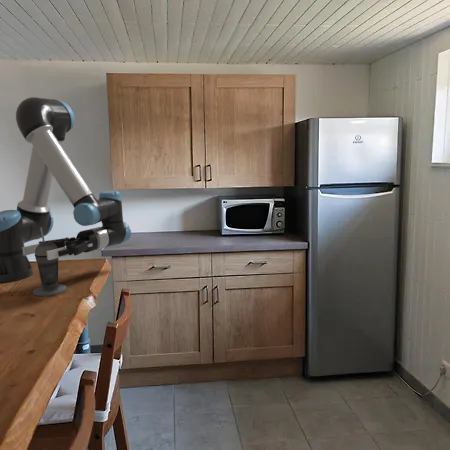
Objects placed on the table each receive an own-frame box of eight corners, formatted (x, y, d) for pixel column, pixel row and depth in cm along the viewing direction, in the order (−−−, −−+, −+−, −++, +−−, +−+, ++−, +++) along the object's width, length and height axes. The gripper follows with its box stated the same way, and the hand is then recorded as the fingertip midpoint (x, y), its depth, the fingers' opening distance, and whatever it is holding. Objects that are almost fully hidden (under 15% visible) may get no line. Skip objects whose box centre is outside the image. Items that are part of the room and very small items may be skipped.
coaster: (26, 293, 144) (26, 291, 144) (54, 284, 152) (54, 282, 152) (45, 298, 138) (44, 296, 138) (73, 288, 146) (72, 287, 146)
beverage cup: (54, 293, 141) (48, 230, 137) (33, 292, 142) (26, 229, 138) (67, 285, 148) (61, 225, 144) (46, 285, 149) (40, 225, 145)
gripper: (116, 254, 151) (60, 270, 134) (71, 247, 165) (15, 260, 148) (114, 231, 149) (57, 245, 132) (69, 226, 164) (12, 238, 147)
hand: (35, 253), depth 140 cm, fingers open, 12 cm apart
